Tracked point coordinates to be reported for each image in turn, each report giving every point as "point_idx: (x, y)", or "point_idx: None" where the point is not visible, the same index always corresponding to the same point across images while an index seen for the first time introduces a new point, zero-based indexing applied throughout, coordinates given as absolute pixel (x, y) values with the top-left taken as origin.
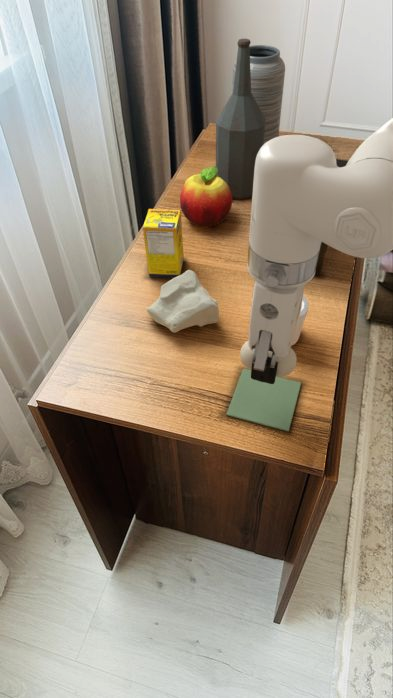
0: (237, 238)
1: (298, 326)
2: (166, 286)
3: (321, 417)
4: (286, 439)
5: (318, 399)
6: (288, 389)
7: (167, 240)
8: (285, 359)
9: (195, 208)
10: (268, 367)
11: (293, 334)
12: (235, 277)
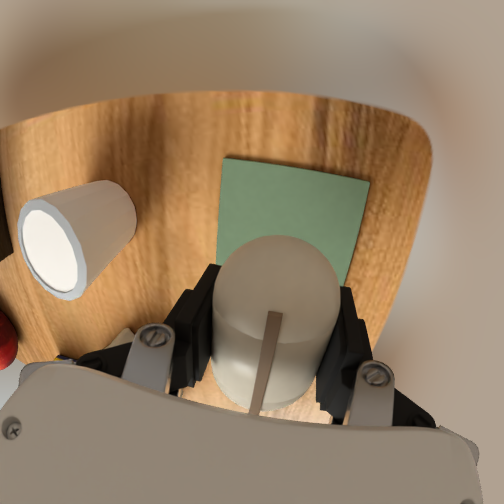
0: (4, 291)
1: (86, 201)
2: None
3: (316, 106)
4: (387, 186)
5: (263, 113)
6: (251, 186)
7: None
8: (316, 315)
9: (4, 356)
10: (415, 405)
11: (356, 498)
12: (44, 295)
